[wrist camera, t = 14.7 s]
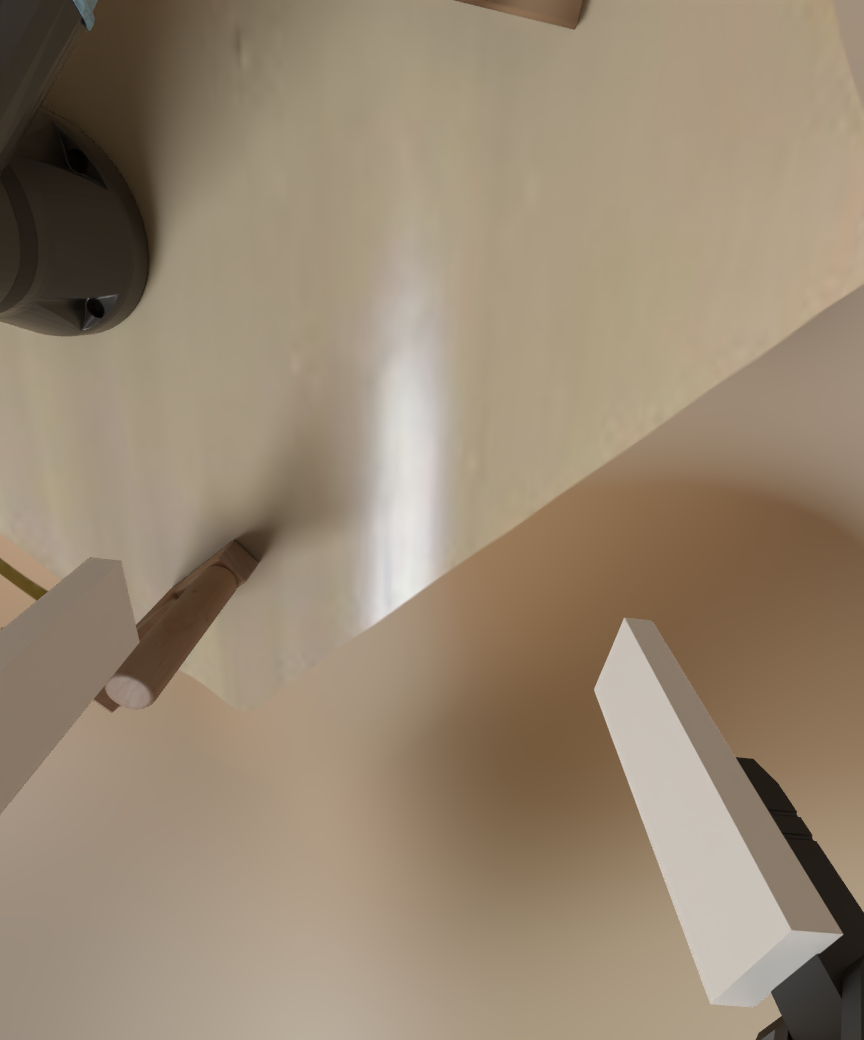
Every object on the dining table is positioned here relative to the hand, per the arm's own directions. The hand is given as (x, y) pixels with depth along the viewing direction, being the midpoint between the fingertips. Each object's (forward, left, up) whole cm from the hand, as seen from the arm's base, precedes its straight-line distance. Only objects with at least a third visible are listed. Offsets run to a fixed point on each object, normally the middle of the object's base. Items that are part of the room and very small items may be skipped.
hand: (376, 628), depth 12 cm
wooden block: (-19, -23, -31) cm, 43 cm away
